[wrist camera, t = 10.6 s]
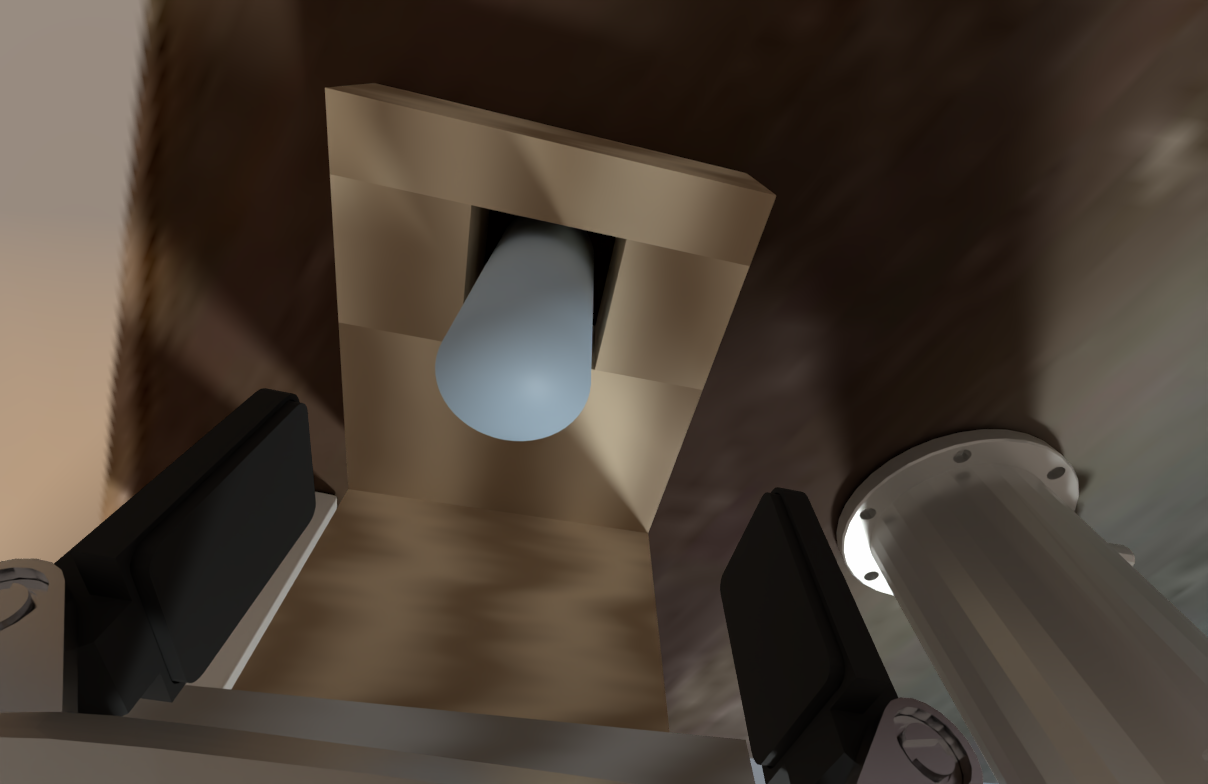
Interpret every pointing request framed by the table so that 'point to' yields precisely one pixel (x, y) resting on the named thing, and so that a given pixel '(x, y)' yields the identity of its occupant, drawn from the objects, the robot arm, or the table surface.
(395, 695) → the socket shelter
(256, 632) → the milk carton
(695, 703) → the table surface
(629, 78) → the table surface
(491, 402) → the peg
